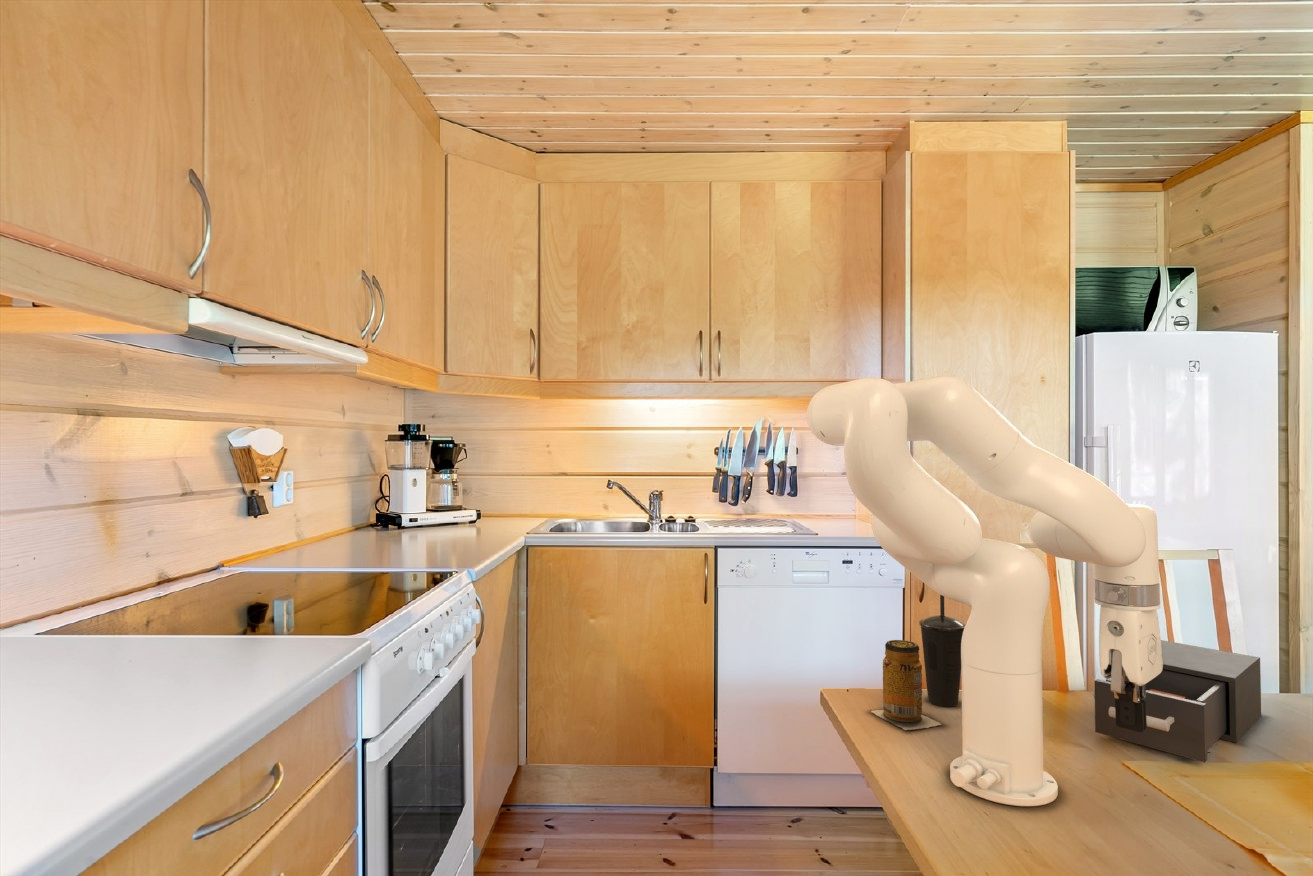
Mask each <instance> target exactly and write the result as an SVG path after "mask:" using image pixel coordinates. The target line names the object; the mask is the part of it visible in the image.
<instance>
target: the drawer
mask: <svg viewBox="0 0 1313 876" xmlns="http://www.w3.org/2000/svg"><path fill="white" fill-rule="evenodd" d="M1093 684H1094V685H1093V686H1094V732H1095V733H1097V734H1100V735H1104V736H1108V737H1111V738H1116V739H1118V740H1123V741H1125V742H1129V743H1133V744H1136V745H1140V746H1143V747H1147V748H1151V749H1154V750H1158V751H1162V752H1165V753H1169V754H1172V755H1175V756H1180V757H1182V758H1186V759H1190V760H1194V761H1196V762H1197V761H1198V762H1200V763H1204V764H1205V763H1207V761H1209V760H1208V758H1209V757H1208V750H1209V749H1210V748H1211V747H1212V746H1213V745H1215V743H1216V742H1217V741H1218V740H1220V739H1219V738H1220V737H1221V736H1222V735H1223V734H1224V733H1225V732H1226V731H1227V682H1225V681H1220V680H1215V679H1210V678H1205V677H1200V676H1195V675H1190V674H1185V673H1180V672H1175V671H1171V670H1166V669H1162V672H1161V673H1160V674H1159V675H1158V676H1156V677H1155V678H1153V679H1152V680H1151V681H1149V682H1148V683H1146V698H1145V699H1141V700H1146V718H1147V728H1146V729H1145V730H1144V731H1143V732H1136V731H1132V730H1129V729H1125V728H1121V727H1118V726H1117V725H1116V716H1115V697H1114V692H1112V691H1111V678H1109V679H1106V678H1105V680H1104V679H1101V678H1100V679H1099V678H1097V679H1095V680H1094V682H1093ZM1151 689H1152V690H1157V691H1161V692H1165V693H1170V694H1174V695H1179V696H1183V697H1185V699H1184V698H1179V697H1175V696H1170V695H1166V694H1162V693H1157V692H1153V691H1149V690H1151Z"/></svg>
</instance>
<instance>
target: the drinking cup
mask: <svg viewBox="0 0 1313 876" xmlns="http://www.w3.org/2000/svg"><path fill="white" fill-rule="evenodd" d="M918 625H919V626H920V632H921V633H920V634H921V642H922V652H923V653H922V654H923V662H924V672H925V683H926V693H927V701H928V703H930V704H932V705H935V706H937V707H944V708H954V707H957V706H958V705H959V697H960V688H961V687H960V686H961V678H962V676H961V641H962V635H963V631H964V628H965V626H966V623H965V622H963V621H960V620H958V619H957V618H955V617H952V616H948V615H945V597H944V596H942V595H940V594H939V615H938V614H936V615H931V616H927V617H925V618H922V619H920V620H919V621H918Z"/></svg>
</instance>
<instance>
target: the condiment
mask: <svg viewBox="0 0 1313 876" xmlns="http://www.w3.org/2000/svg"><path fill="white" fill-rule="evenodd" d="M884 647H885V648H884V649H885V650H884V655H885V656H884V658H883V659H882V709H876V710H871V711H870V712H871V713H872V714H874V715H876V716H877V717H879V718H881V719H883V720H885V721H886V722H889V723H891V724H892V725H894V726H896V727H898V728H901V729H902V730H904V731H911V730H921V729H928V728H932V727H937V726H941V725H943V724H942V723H940V722H939V721H936V720H934V719H932V718H930V717H929V716H926V715H923V697H922V696H923V674H922V673H923V671H922V670H923V665H922V662H921V660H920V646H919V645H918V644H917V643H916V642H912V641H910V640H905V639H892V640H887V641H886V643H885V644H884Z"/></svg>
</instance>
